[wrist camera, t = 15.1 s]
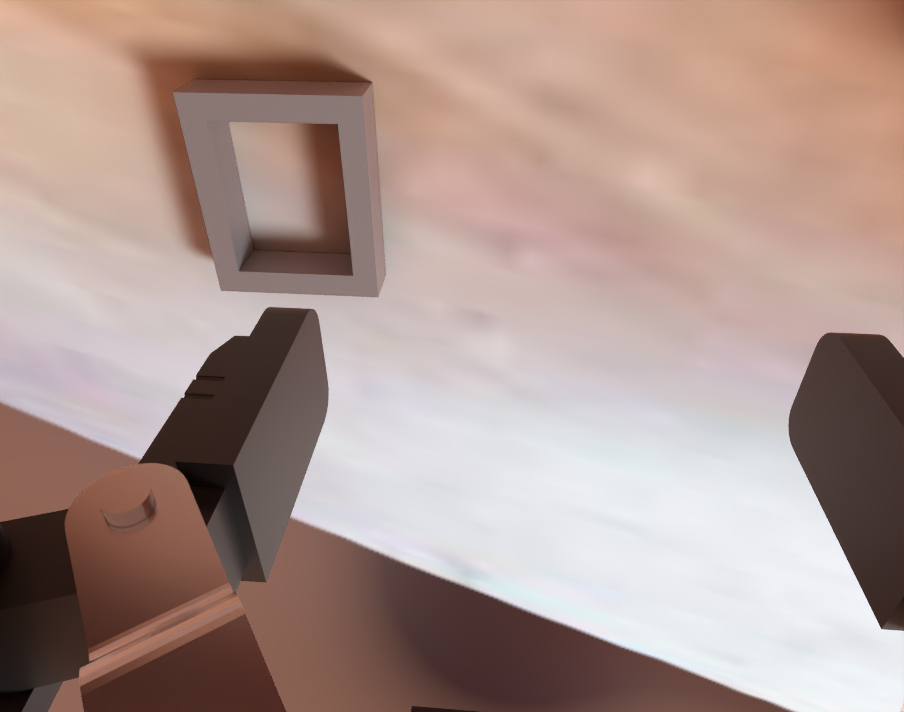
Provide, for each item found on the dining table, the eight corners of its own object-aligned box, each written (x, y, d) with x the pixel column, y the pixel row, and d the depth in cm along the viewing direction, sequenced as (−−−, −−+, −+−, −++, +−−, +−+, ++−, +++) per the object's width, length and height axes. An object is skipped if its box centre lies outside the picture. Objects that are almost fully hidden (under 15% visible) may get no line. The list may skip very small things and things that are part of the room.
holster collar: (372, 82, 37) (362, 96, 35) (385, 274, 44) (378, 297, 42) (194, 79, 38) (172, 92, 35) (236, 268, 45) (220, 290, 43)
